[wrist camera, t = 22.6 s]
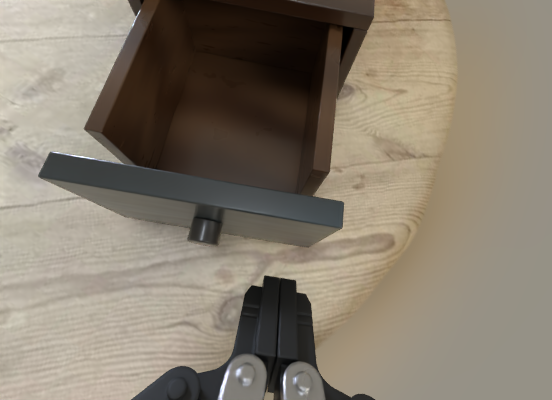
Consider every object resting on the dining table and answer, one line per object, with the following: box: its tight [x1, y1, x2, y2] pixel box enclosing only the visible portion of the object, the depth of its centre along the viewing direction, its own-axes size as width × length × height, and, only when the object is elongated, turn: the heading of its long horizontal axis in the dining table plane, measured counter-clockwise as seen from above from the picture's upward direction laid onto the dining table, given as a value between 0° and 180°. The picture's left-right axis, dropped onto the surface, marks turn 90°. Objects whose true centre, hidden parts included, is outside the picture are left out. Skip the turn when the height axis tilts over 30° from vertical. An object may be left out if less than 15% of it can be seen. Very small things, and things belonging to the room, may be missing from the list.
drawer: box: [38, 0, 344, 247], centre depth 15 cm, size 16×12×7 cm
